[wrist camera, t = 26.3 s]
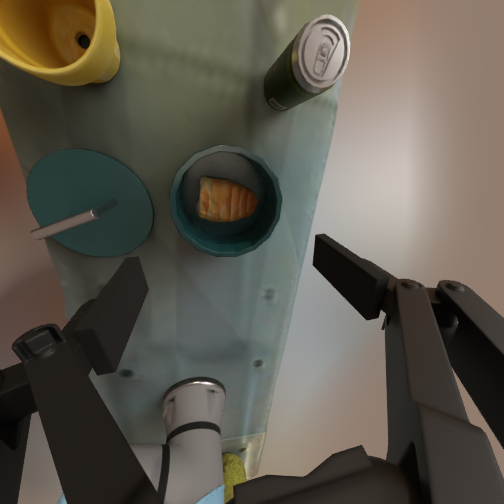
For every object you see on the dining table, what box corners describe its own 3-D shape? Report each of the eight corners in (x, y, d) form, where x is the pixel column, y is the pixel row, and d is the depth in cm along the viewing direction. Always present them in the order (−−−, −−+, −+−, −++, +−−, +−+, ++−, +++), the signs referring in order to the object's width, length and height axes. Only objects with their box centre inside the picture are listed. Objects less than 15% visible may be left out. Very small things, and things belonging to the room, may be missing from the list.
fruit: (235, 437, 67) (259, 500, 59) (232, 439, 77) (252, 493, 69) (185, 474, 60) (204, 551, 52) (189, 470, 70) (205, 534, 62)
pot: (276, 220, 38) (291, 236, 31) (200, 249, 37) (199, 270, 30) (252, 132, 31) (265, 127, 24) (159, 165, 30) (146, 170, 24)
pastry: (258, 181, 33) (263, 185, 30) (252, 222, 36) (256, 229, 33) (197, 174, 31) (196, 177, 28) (196, 217, 34) (195, 225, 31)
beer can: (291, 117, 31) (336, 100, 20) (257, 103, 29) (287, 76, 19) (305, 73, 29) (362, 29, 18) (269, 56, 27) (310, -4, 17)
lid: (172, 234, 35) (163, 258, 27) (83, 267, 34) (47, 301, 26) (116, 132, 28) (82, 125, 20) (2, 172, 27) (-80, 181, 19)
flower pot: (19, -44, 20) (-118, -187, 12) (137, 3, 23) (97, -85, 14) (38, 85, 24) (-53, 49, 16) (137, 112, 27) (105, 94, 18)
